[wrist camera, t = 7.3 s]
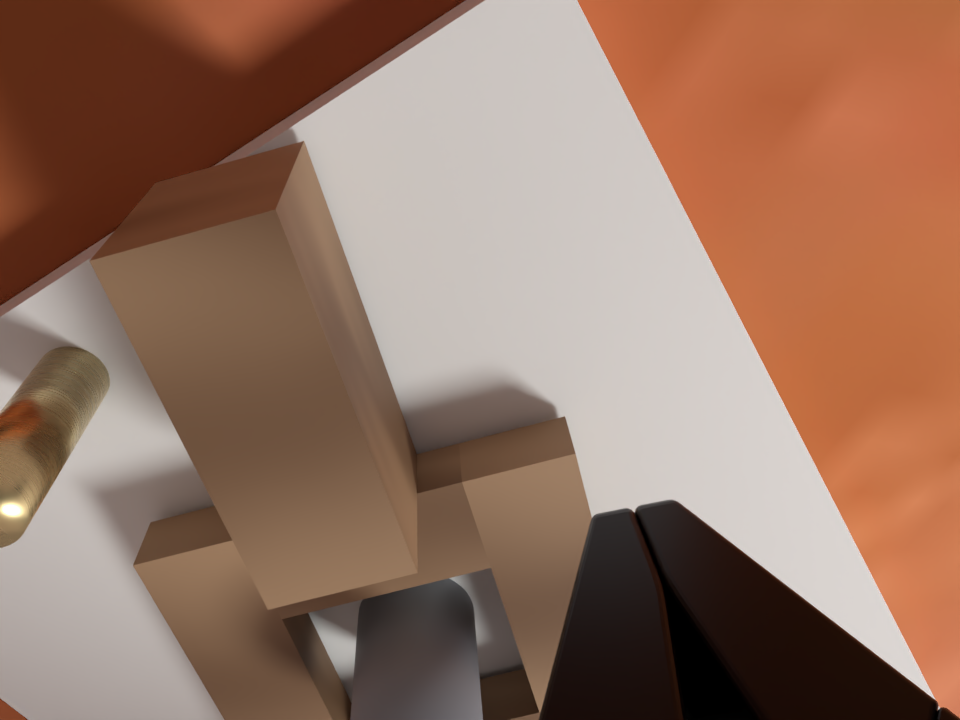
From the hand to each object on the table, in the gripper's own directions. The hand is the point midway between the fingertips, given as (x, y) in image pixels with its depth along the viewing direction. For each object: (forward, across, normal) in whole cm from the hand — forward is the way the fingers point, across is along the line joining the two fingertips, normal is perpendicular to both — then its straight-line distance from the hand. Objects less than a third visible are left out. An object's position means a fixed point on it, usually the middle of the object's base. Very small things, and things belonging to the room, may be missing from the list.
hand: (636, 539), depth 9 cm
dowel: (+7, +8, 0) cm, 11 cm away
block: (+7, +4, +4) cm, 9 cm away
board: (+8, +4, +7) cm, 11 cm away
